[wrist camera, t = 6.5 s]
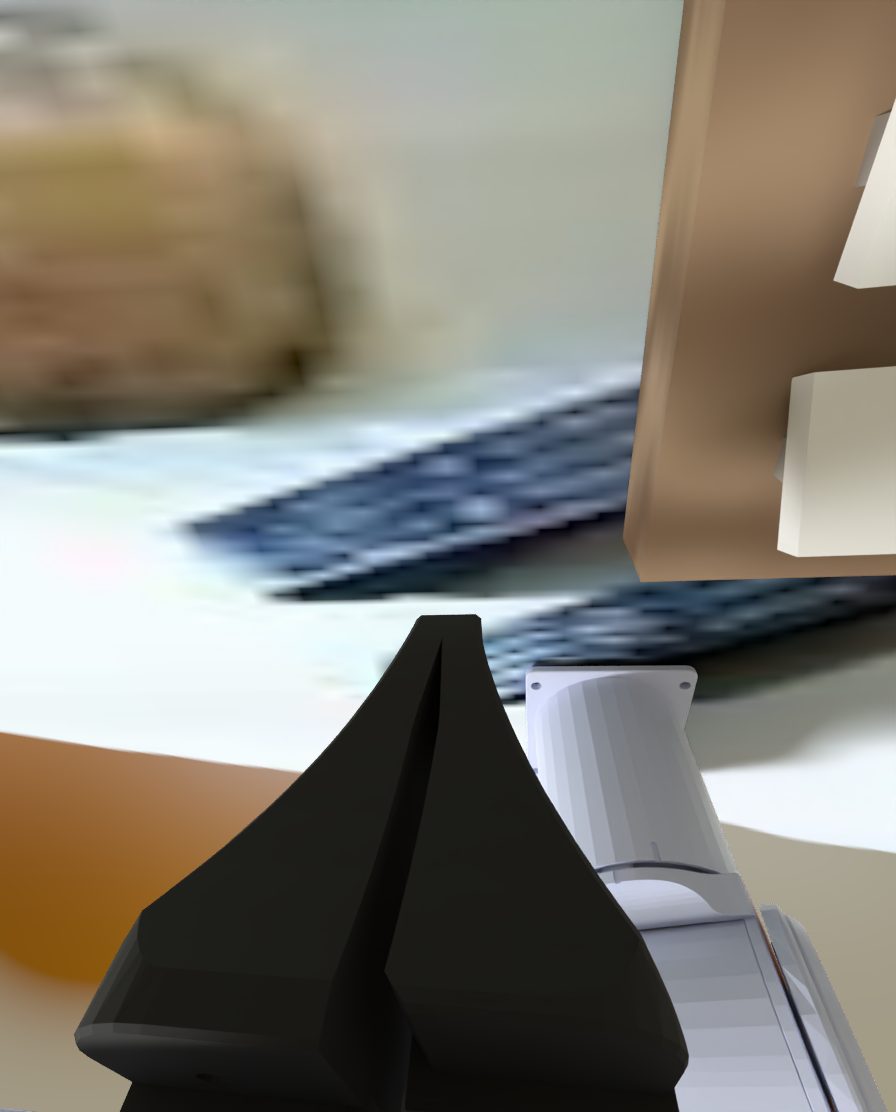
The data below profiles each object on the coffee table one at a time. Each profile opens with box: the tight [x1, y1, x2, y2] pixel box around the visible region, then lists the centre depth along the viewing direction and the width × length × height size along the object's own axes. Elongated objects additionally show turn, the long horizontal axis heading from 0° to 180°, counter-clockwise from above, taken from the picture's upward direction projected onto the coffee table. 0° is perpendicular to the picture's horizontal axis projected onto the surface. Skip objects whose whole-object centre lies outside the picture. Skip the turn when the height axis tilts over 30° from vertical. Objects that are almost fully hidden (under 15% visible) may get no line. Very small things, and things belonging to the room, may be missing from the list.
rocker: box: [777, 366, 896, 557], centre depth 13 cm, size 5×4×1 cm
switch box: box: [623, 0, 896, 582], centre depth 13 cm, size 16×10×4 cm, turn 6°
